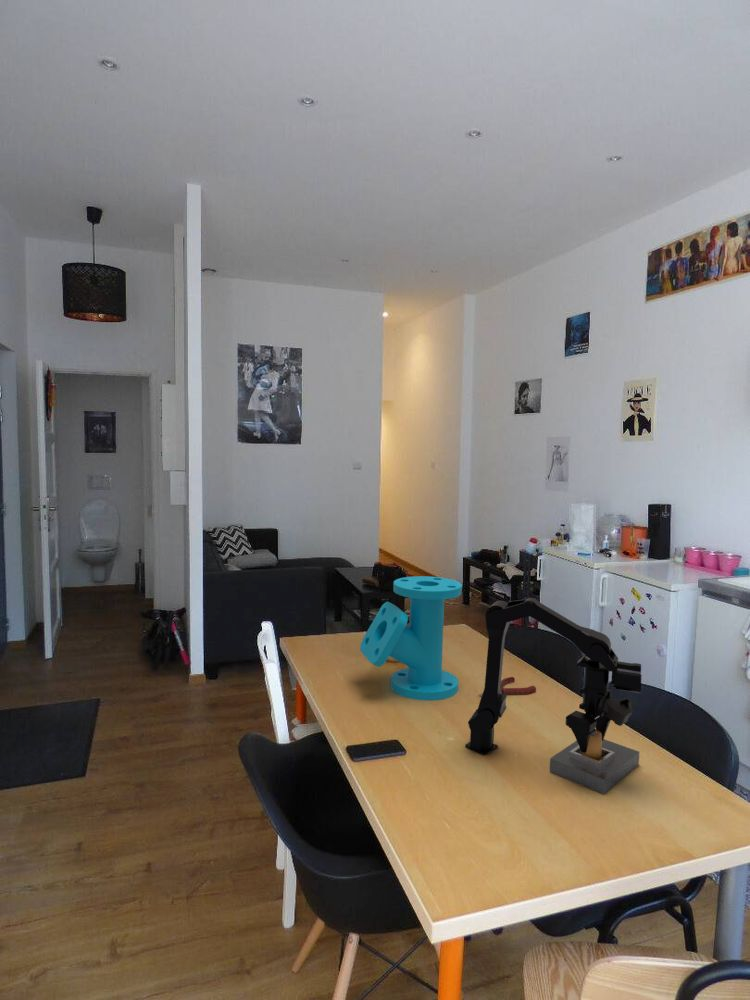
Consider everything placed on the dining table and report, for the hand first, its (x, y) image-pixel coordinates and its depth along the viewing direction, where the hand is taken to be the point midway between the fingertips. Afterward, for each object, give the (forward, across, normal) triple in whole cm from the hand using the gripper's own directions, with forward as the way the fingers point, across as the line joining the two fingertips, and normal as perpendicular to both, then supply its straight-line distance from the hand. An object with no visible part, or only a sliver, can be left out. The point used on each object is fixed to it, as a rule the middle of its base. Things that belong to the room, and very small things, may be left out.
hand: (592, 746), depth 157 cm
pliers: (+7, +28, +44) cm, 53 cm away
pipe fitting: (+7, +7, +66) cm, 67 cm away
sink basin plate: (+6, +2, 0) cm, 7 cm away
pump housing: (+3, 0, 0) cm, 3 cm away
